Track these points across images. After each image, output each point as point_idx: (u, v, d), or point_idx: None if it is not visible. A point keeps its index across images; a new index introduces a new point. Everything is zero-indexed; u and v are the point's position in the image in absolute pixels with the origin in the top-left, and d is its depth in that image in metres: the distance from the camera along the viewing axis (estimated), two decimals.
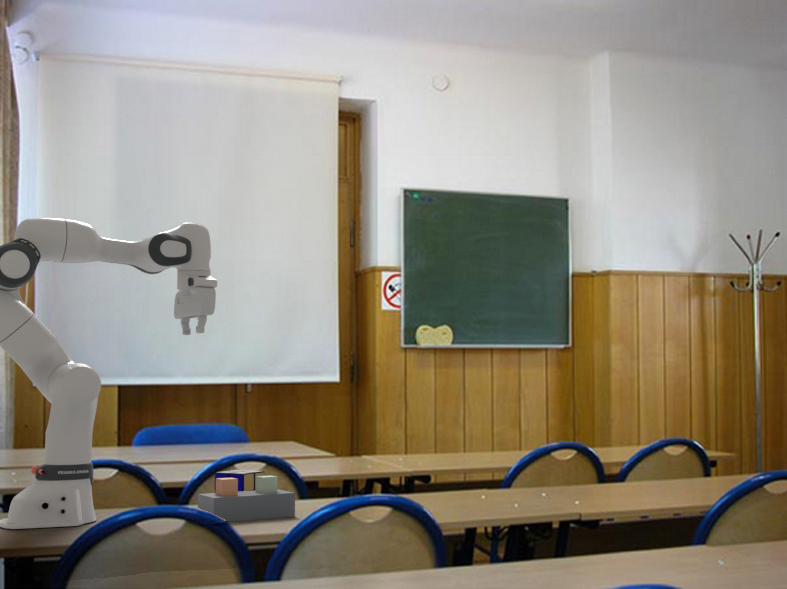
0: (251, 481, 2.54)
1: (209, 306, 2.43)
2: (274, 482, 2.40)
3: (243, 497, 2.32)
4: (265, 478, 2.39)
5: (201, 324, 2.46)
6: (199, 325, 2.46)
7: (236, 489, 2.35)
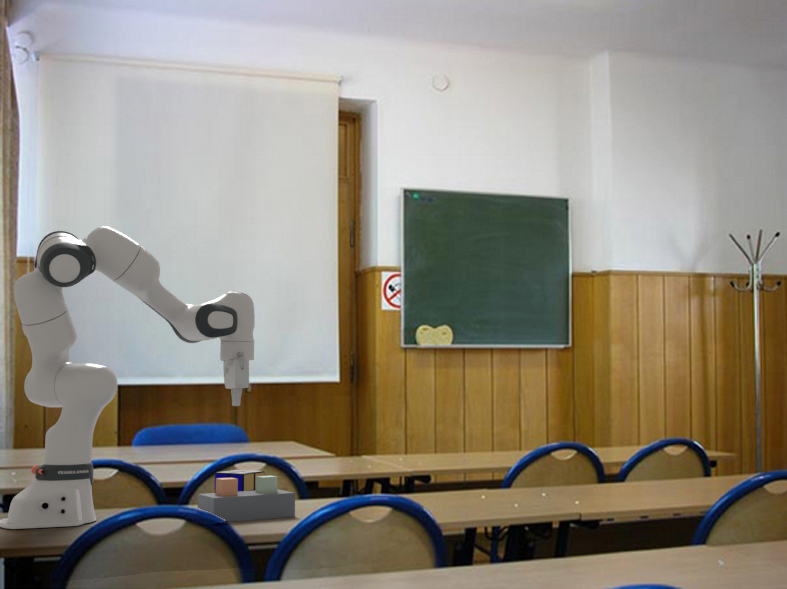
0: (251, 481, 2.54)
1: None
2: (274, 482, 2.40)
3: (243, 497, 2.32)
4: (265, 478, 2.39)
5: None
6: None
7: (236, 489, 2.35)
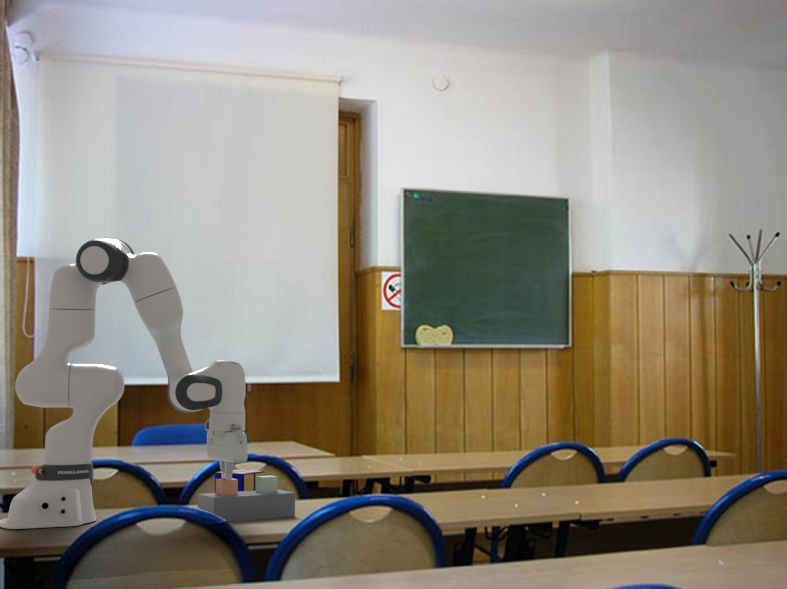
0: (251, 481, 2.54)
1: None
2: (274, 482, 2.40)
3: (243, 497, 2.32)
4: (265, 478, 2.39)
5: None
6: None
7: (236, 490, 2.35)
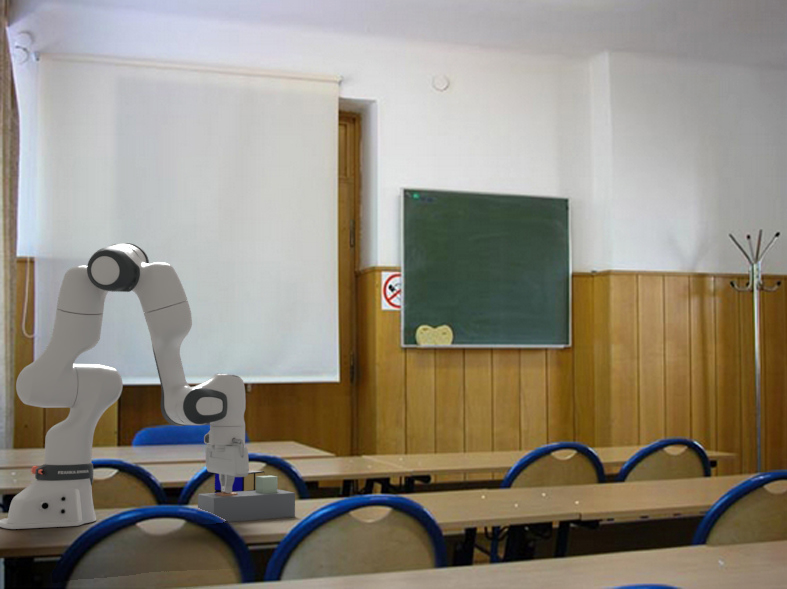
0: (251, 481, 2.54)
1: None
2: (274, 482, 2.40)
3: (243, 497, 2.32)
4: (265, 478, 2.39)
5: None
6: None
7: None
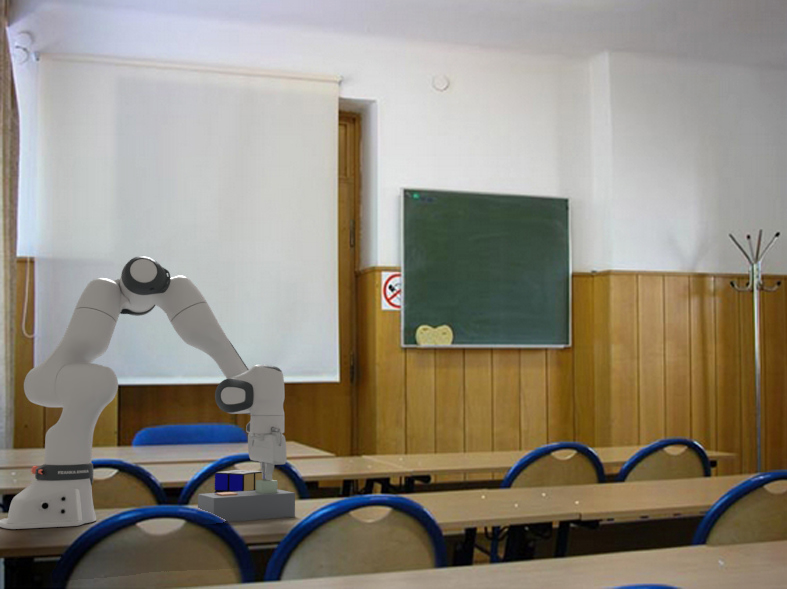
0: (251, 481, 2.54)
1: None
2: (274, 486, 2.40)
3: (243, 497, 2.32)
4: (265, 482, 2.39)
5: None
6: None
7: None
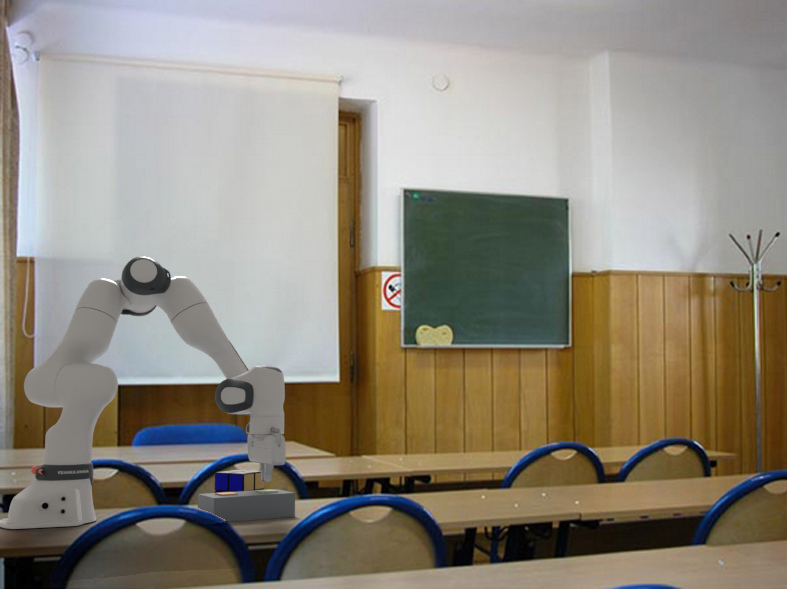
0: (251, 481, 2.54)
1: None
2: None
3: (243, 497, 2.32)
4: (265, 492, 2.39)
5: None
6: None
7: None
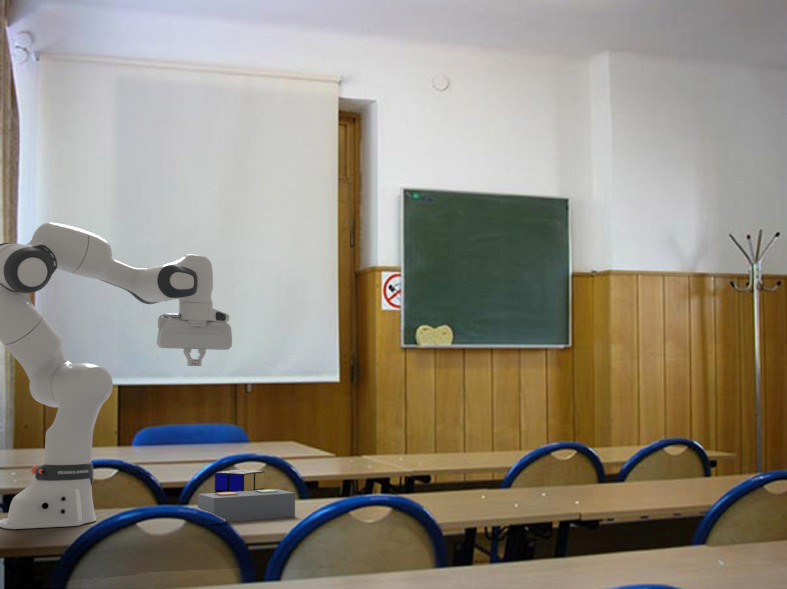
0: (251, 481, 2.54)
1: None
2: None
3: (243, 497, 2.32)
4: (265, 492, 2.39)
5: None
6: None
7: None
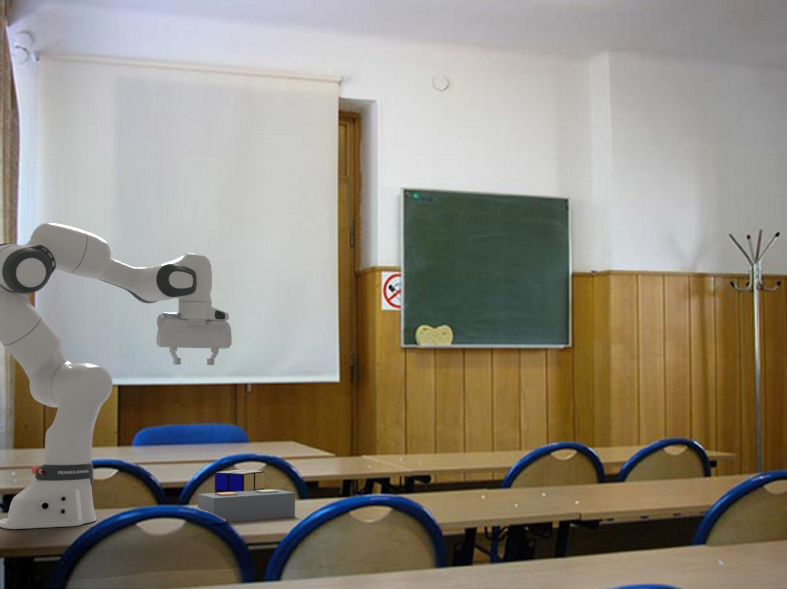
0: (251, 481, 2.54)
1: None
2: None
3: (243, 497, 2.32)
4: (265, 492, 2.39)
5: None
6: None
7: None
